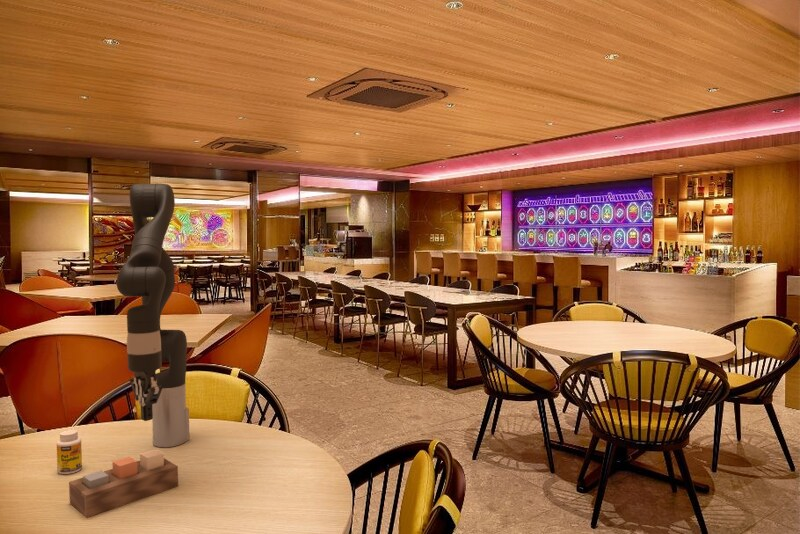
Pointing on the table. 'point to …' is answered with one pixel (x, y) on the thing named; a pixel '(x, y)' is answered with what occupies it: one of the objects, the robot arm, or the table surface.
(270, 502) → the table surface
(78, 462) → the supplement bottle
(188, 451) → the table surface
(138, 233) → the robot arm
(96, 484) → the slate key
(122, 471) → the terracotta key
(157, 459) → the ivory key
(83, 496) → the frame
